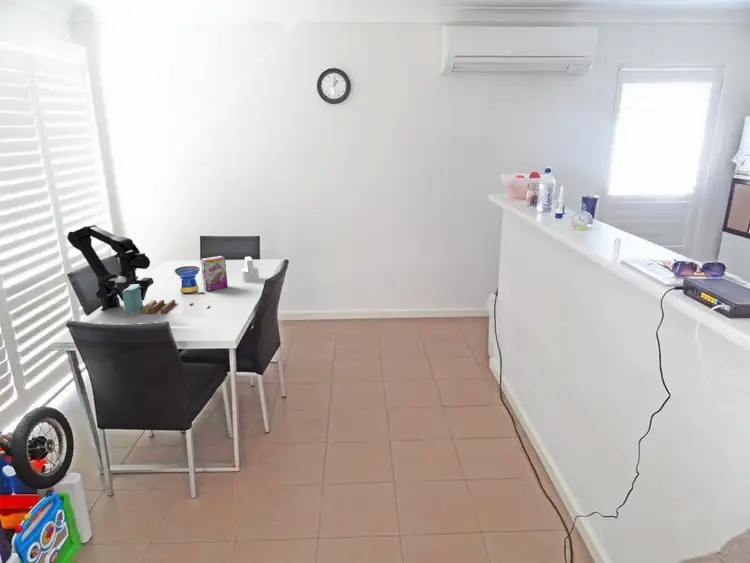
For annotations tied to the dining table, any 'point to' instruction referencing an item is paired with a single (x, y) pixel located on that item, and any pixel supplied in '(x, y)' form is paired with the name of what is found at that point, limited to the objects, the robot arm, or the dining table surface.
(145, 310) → the oak offcut slats
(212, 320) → the dining table surface
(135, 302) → the teal panel
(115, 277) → the robot arm
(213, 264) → the candy bar box
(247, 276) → the base with upright slab
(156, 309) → the walnut rack
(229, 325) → the dining table surface
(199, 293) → the wooden tablet
